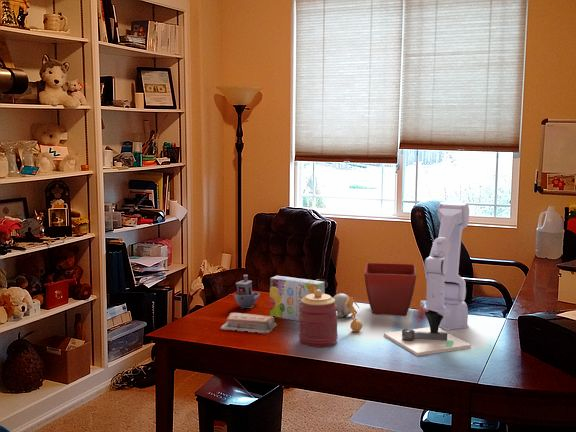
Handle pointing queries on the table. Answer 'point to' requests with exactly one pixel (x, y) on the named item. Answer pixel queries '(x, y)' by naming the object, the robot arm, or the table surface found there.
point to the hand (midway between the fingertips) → (434, 333)
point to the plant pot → (390, 287)
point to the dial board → (427, 343)
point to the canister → (318, 320)
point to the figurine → (353, 315)
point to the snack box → (290, 295)
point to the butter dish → (249, 323)
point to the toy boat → (245, 293)
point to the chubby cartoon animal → (341, 304)
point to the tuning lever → (422, 335)
